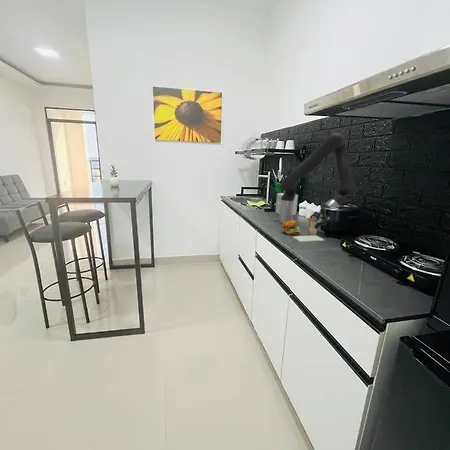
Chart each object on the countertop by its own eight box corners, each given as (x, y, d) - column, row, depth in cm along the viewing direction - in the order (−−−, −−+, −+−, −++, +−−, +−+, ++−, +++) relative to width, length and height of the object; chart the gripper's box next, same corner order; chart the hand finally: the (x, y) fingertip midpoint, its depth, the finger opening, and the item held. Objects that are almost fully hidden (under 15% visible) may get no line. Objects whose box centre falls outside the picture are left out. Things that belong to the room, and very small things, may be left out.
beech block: (306, 233, 163) (307, 218, 160) (312, 233, 164) (314, 218, 161) (309, 235, 158) (311, 220, 156) (316, 235, 159) (318, 219, 157)
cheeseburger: (301, 236, 155) (299, 221, 153) (284, 238, 158) (281, 223, 156) (300, 231, 165) (297, 217, 163) (283, 234, 168) (281, 219, 165)
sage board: (315, 236, 157) (316, 235, 157) (324, 240, 148) (324, 239, 148) (292, 237, 153) (292, 236, 153) (300, 242, 145) (300, 241, 145)
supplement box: (288, 211, 229) (289, 192, 224) (296, 215, 217) (298, 194, 212) (275, 212, 225) (276, 193, 220) (282, 215, 213) (284, 195, 208)
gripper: (319, 202, 165) (302, 219, 165) (333, 206, 151) (314, 225, 151) (326, 209, 167) (308, 227, 167) (340, 214, 154) (321, 233, 154)
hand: (311, 226), depth 159 cm, fingers open, 8 cm apart
